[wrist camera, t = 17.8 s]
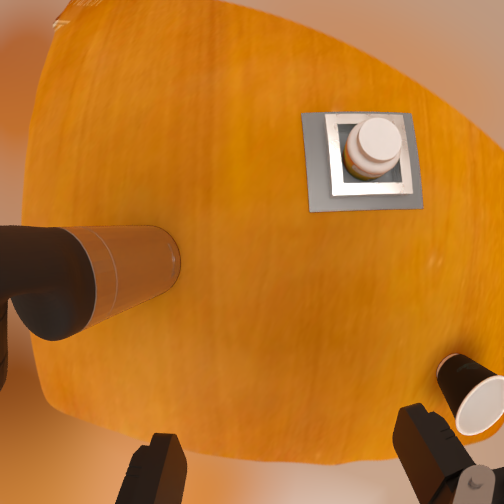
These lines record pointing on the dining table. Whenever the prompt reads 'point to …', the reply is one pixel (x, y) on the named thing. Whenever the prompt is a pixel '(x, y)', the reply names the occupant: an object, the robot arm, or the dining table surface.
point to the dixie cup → (471, 393)
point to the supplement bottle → (372, 149)
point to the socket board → (341, 182)
